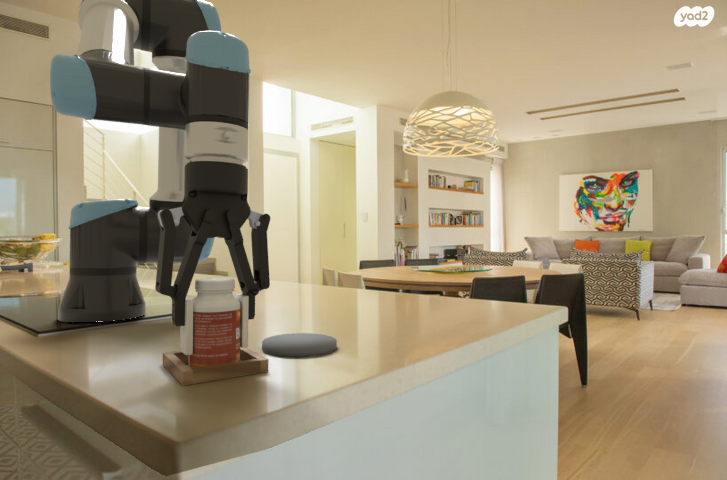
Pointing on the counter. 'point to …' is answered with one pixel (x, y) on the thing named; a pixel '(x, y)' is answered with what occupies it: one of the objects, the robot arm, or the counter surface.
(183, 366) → the socket
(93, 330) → the counter surface
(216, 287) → the pill bottle
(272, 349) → the disc
